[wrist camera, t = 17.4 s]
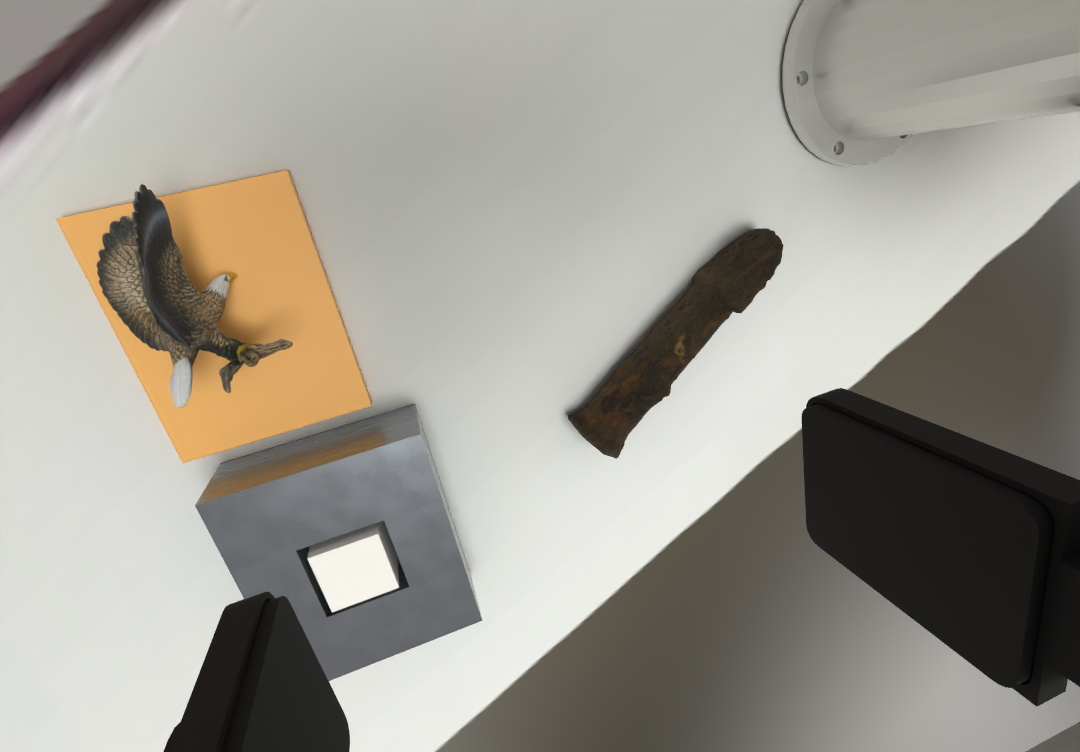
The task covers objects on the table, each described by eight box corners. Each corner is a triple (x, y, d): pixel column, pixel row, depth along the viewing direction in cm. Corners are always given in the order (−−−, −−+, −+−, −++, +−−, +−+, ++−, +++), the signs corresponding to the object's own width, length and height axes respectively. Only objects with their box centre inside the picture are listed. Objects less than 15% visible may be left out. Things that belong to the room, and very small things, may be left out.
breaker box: (414, 404, 35) (420, 433, 30) (470, 572, 40) (482, 620, 35) (220, 463, 33) (195, 505, 28) (304, 634, 37) (294, 694, 33)
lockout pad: (288, 171, 29) (286, 170, 28) (371, 401, 34) (371, 406, 33) (64, 218, 27) (55, 218, 26) (187, 457, 32) (182, 463, 31)
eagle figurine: (325, 298, 30) (180, 155, 25) (266, 391, 25) (67, 235, 20) (241, 344, 33) (97, 226, 28) (172, 434, 28) (-19, 311, 23)
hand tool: (595, 445, 40) (622, 474, 36) (559, 414, 38) (583, 440, 34) (769, 256, 39) (817, 262, 35) (740, 216, 38) (787, 218, 34)
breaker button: (377, 499, 35) (378, 534, 31) (396, 548, 36) (399, 587, 32) (314, 520, 34) (307, 558, 30) (336, 570, 35) (332, 612, 32)
